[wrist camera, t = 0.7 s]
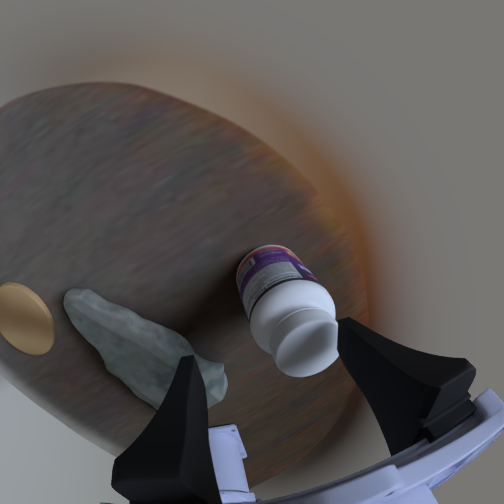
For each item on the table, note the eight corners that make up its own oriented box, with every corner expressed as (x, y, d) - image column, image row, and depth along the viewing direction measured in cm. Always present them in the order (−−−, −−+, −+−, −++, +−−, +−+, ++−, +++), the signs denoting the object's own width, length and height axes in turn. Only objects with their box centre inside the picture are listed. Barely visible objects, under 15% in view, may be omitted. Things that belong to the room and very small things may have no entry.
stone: (38, 321, 19) (108, 256, 18) (53, 303, 22) (121, 241, 21) (169, 432, 25) (248, 398, 24) (171, 410, 28) (244, 374, 27)
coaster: (69, 348, 22) (66, 353, 22) (16, 352, 21) (14, 356, 21) (34, 275, 19) (30, 279, 19) (-17, 287, 18) (-21, 291, 18)
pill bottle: (306, 287, 25) (360, 360, 16) (248, 312, 24) (278, 398, 15) (289, 231, 22) (348, 292, 13) (224, 258, 22) (246, 337, 13)
